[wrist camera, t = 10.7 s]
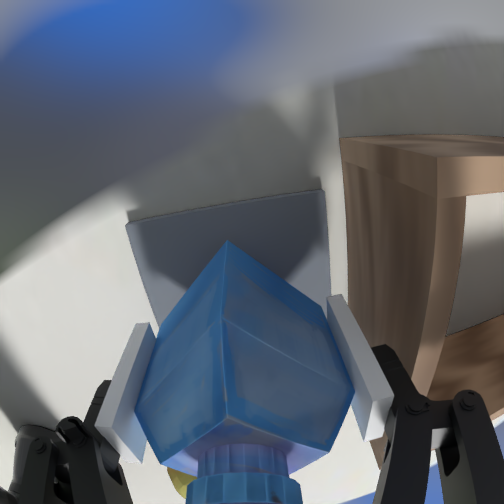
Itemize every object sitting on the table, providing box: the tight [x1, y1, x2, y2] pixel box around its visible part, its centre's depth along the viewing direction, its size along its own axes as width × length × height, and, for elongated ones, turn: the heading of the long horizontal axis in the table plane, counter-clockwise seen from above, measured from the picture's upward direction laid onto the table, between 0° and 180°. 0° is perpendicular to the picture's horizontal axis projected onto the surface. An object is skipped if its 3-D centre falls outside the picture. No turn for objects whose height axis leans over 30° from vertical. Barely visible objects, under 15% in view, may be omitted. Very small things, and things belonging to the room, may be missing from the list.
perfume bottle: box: [134, 240, 355, 504], centre depth 11 cm, size 6×6×12 cm
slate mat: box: [125, 189, 331, 329], centre depth 18 cm, size 11×11×1 cm
